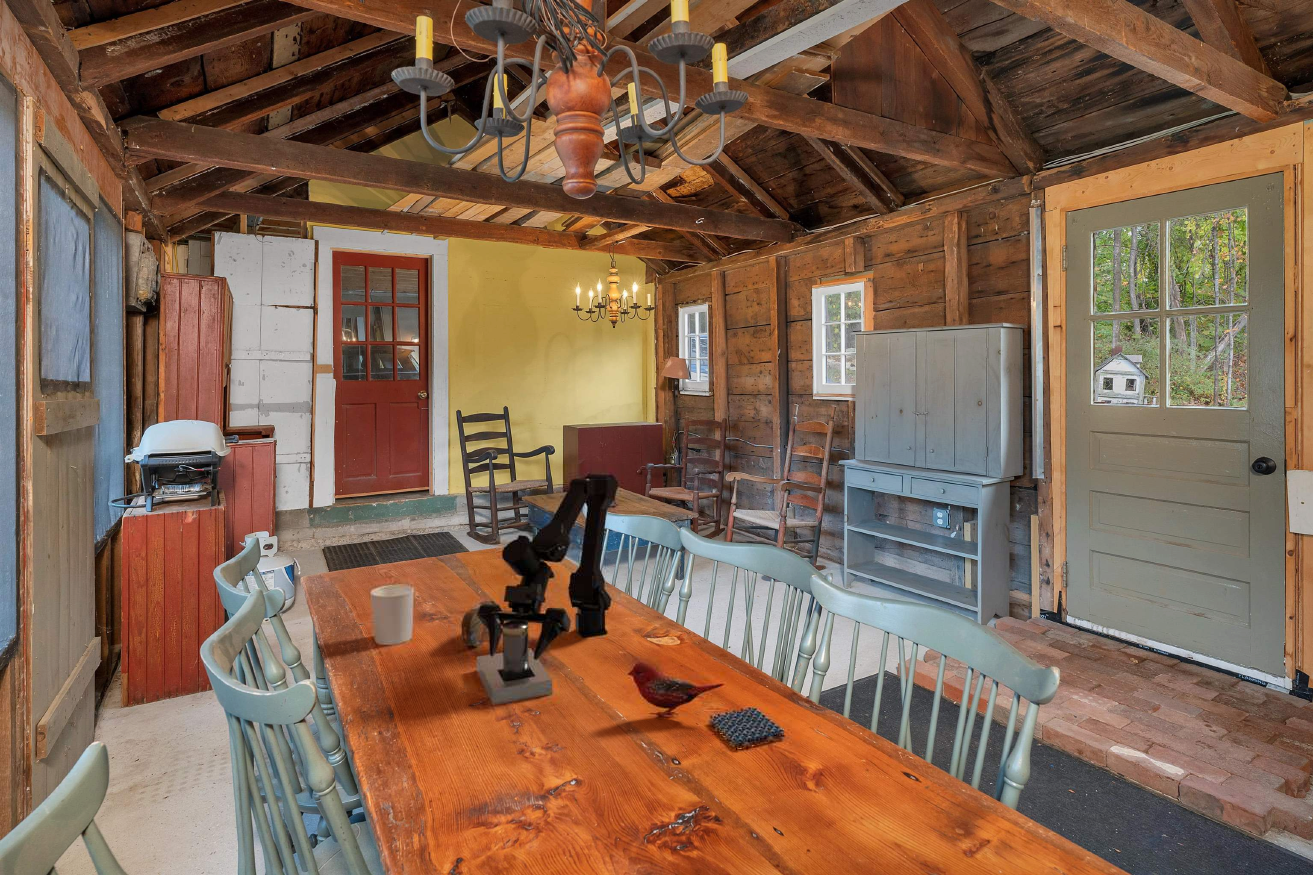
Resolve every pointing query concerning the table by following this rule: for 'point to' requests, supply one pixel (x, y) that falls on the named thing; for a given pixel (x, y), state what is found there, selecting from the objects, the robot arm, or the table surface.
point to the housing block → (516, 689)
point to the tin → (474, 627)
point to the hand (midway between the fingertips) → (513, 657)
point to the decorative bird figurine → (665, 688)
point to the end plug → (515, 650)
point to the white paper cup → (392, 613)
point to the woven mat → (747, 728)
